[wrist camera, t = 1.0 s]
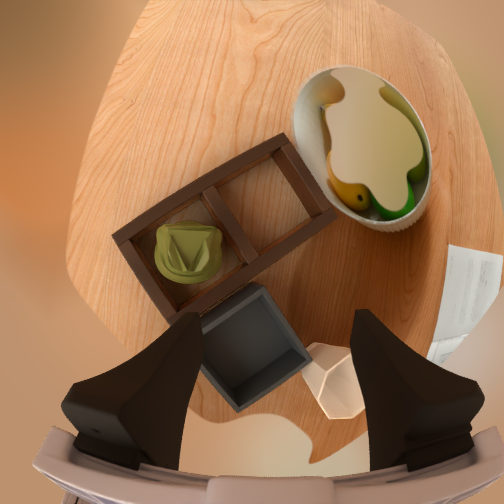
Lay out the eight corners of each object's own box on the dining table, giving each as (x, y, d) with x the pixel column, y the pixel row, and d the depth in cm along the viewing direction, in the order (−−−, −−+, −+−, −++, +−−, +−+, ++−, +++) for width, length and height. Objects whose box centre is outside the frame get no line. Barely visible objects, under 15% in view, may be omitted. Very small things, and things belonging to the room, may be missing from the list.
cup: (311, 317, 29) (351, 336, 22) (368, 358, 31) (410, 379, 23) (272, 371, 28) (300, 406, 21) (334, 405, 30) (370, 436, 22)
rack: (324, 220, 30) (338, 217, 27) (175, 323, 26) (173, 331, 23) (274, 142, 29) (283, 131, 26) (118, 237, 25) (110, 235, 22)
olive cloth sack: (158, 279, 26) (141, 290, 16) (161, 223, 26) (146, 203, 17) (216, 281, 27) (232, 294, 18) (218, 226, 28) (236, 209, 18)
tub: (229, 392, 27) (237, 413, 23) (180, 330, 26) (179, 343, 22) (295, 346, 29) (313, 360, 25) (252, 281, 28) (264, 285, 24)
